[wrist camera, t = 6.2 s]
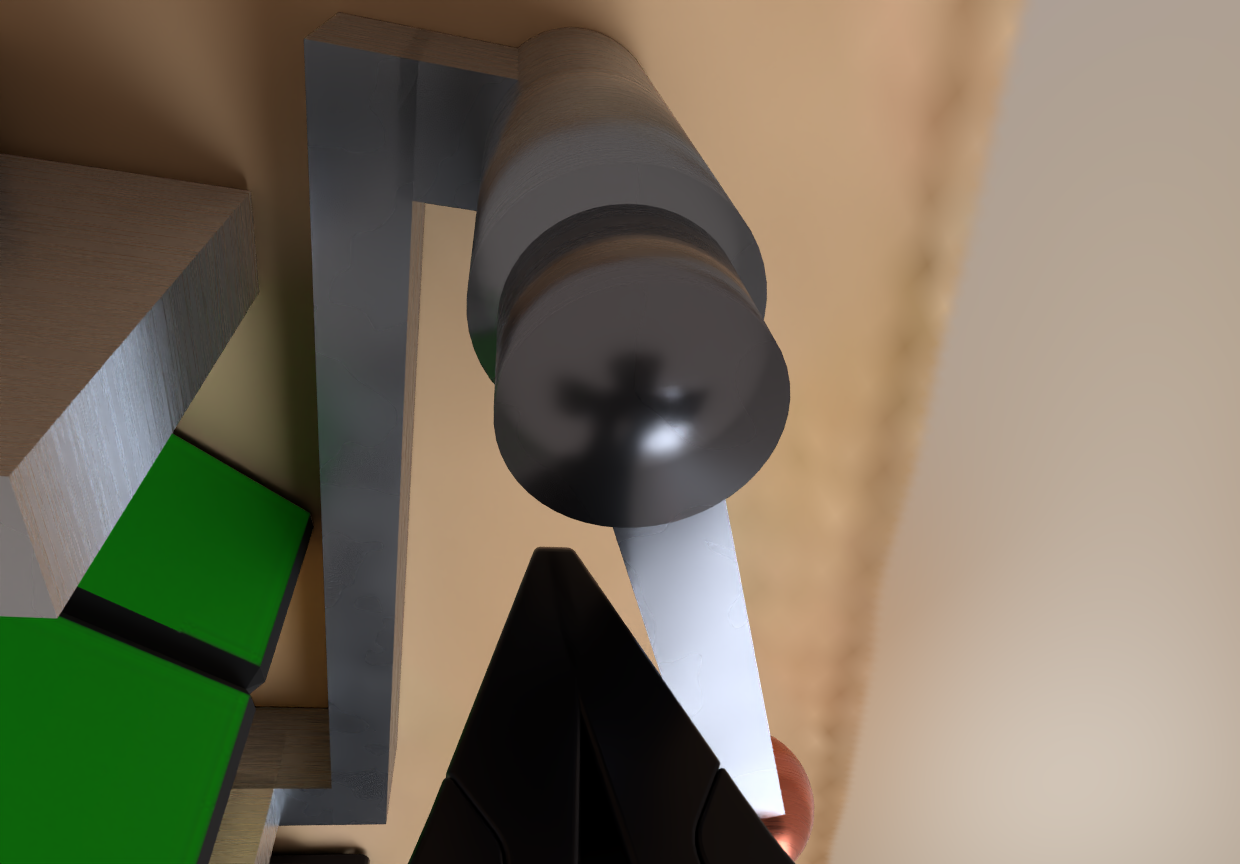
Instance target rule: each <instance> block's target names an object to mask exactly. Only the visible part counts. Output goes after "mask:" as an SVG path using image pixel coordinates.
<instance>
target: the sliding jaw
mask: <svg viewBox="0 0 1240 864" xmlns="http://www.w3.org/2000/svg"><path fill="white" fill-rule="evenodd" d="M258 294H259V283H258V271H257V259H256V247H255V235H254V222H253V210H252V198H251V191H248V190H241V189H235V188H228V187H221V186H215V185H208V184H201V183H195V182H188V181H181V180H175V179H168V178H161V177H155V176H148V175H141V174H135V173H128V172H121V171H115V170H108V169H101V168H95V167H88V166H81V165H75V164H68V163H61V162H55V161H48V160H42V159H35V158H28V157H22V156H15V155H8V154H2V153H0V616H8V617H34V618H58V616H59V615H60V613H61V612H62V610H63V608H64V607H65V605H66V604H67V602H68V600H69V599H70V597H71V595H72V594H73V592H74V591H75V589H76V587H77V586H78V584H79V583H80V581H81V579H82V578H83V576H84V574H85V573H86V571H87V570H88V568H89V566H90V565H91V563H92V562H93V560H94V558H95V557H96V555H97V553H98V552H99V550H100V549H101V547H102V545H103V544H104V542H105V541H106V539H107V537H108V536H109V534H110V532H111V531H112V529H113V528H114V526H115V524H116V523H117V521H118V520H119V518H120V516H121V515H122V513H123V512H124V510H125V508H126V507H127V505H128V503H129V502H130V500H131V499H132V497H133V495H134V494H135V492H136V491H137V489H138V487H139V486H140V484H141V482H142V481H143V479H144V478H145V476H146V474H147V473H148V471H149V470H150V468H151V466H152V465H153V463H154V461H155V460H156V458H157V457H158V455H159V453H160V452H161V450H162V449H163V447H164V445H165V444H166V442H167V440H168V439H169V437H170V436H171V434H172V432H173V431H174V429H175V428H176V426H177V424H178V423H179V421H180V420H181V418H182V416H183V415H184V413H185V411H186V410H187V408H188V407H189V405H190V403H191V402H192V400H193V399H194V397H195V395H196V394H197V392H198V390H199V389H200V387H201V386H202V384H203V382H204V381H205V379H206V378H207V376H208V374H209V373H210V371H211V369H212V368H213V366H214V365H215V363H216V361H217V360H218V358H219V357H220V355H221V353H222V352H223V350H224V348H225V347H226V345H227V344H228V342H229V340H230V339H231V337H232V336H233V334H234V332H235V331H236V329H237V328H238V326H239V324H240V323H241V321H242V319H243V318H244V316H245V315H246V313H247V311H248V310H249V308H250V307H251V305H252V303H253V302H254V300H255V298H256V297H257V295H258Z"/></svg>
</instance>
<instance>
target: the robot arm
mask: <svg viewBox="0 0 1240 864" xmlns="http://www.w3.org/2000/svg"><path fill="white" fill-rule="evenodd" d="M719 768H720V761H719V759H718V758H717V757H716V755H715V754H714V752H713V751H712V749H711V748H710V746H709V745H708V743H707V742H706V741H705V739H704V738H703V736H702V735H701V733H700V732H699V730H698V729H697V728H696V726H695V725H694V723H693V722H692V720H691V719H690V717H689V716H688V714H687V713H686V712H685V710H684V709H683V707H682V706H681V704H680V703H679V701H678V700H677V699H676V697H675V696H674V694H673V693H672V691H671V690H670V688H669V687H668V685H667V684H666V683H665V681H664V680H663V678H662V677H661V675H660V674H659V672H658V671H657V670H656V668H655V667H654V665H653V664H652V662H651V661H650V659H649V658H648V657H647V655H646V654H645V652H644V651H643V649H642V648H641V646H640V645H639V643H638V642H637V641H636V639H635V638H634V636H633V635H632V633H631V632H630V630H629V629H628V628H627V626H626V625H625V623H624V622H623V620H622V619H621V617H620V616H619V614H618V613H617V612H616V610H615V609H614V607H613V606H612V604H611V603H610V601H609V600H608V599H607V597H606V596H605V594H604V593H603V591H602V590H601V588H600V587H599V585H598V584H597V583H596V581H595V580H594V578H593V577H592V575H591V574H590V572H589V571H588V570H587V568H586V567H585V565H584V564H583V562H582V561H581V559H580V558H579V556H578V555H577V554H576V552H575V551H574V550H573V549H571V548H565V547H538V548H536V549H535V550H534V552H533V555H532V557H531V560H530V562H529V565H528V567H527V570H526V572H525V575H524V577H523V580H522V582H521V585H520V588H519V590H518V593H517V595H516V598H515V600H514V603H513V605H512V608H511V610H510V613H509V615H508V618H507V620H506V623H505V626H504V628H503V631H502V633H501V636H500V638H499V641H498V643H497V646H496V648H495V651H494V653H493V656H492V658H491V661H490V664H489V666H488V669H487V671H486V674H485V676H484V679H483V681H482V684H481V686H480V689H479V691H478V694H477V697H476V699H475V702H474V704H473V707H472V709H471V712H470V714H469V717H468V719H467V722H466V724H465V727H464V729H463V732H462V735H461V737H460V740H459V742H458V745H457V747H456V750H455V752H454V755H453V757H452V760H451V762H450V765H449V767H448V770H447V773H446V778H445V779H444V780H443V782H442V784H441V787H440V789H439V792H438V794H437V797H436V799H435V802H434V804H433V807H432V810H431V812H430V814H429V817H428V819H427V821H426V824H425V826H424V828H423V831H422V833H421V835H420V837H419V840H418V842H417V844H416V847H415V849H414V851H413V854H412V856H411V858H410V860H409V862H408V864H795V863H794V861H793V860H792V859H791V858H790V856H789V855H788V854H787V853H786V852H785V850H784V849H783V848H782V847H781V845H780V844H779V843H778V842H777V840H776V839H775V838H774V837H773V835H772V834H771V833H770V831H769V830H768V828H767V827H766V826H765V824H764V823H763V822H762V820H761V819H760V817H759V816H758V815H757V813H756V812H755V811H754V809H753V808H752V806H751V805H750V804H749V802H748V801H747V800H746V798H745V797H744V795H743V794H742V793H741V791H740V790H739V788H738V787H737V785H736V784H735V782H734V781H733V779H732V778H731V776H730V775H729V773H728V772H727V771H726V769H725V768H720V769H719ZM269 864H370V860H369V858H368V857H367V856H365V855H361V854H334V855H286V856H271V857H270V861H269Z"/></svg>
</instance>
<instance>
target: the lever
mask: <svg viewBox="0 0 1240 864" xmlns="http://www.w3.org/2000/svg"><path fill="white" fill-rule="evenodd" d="M789 403H790V381H789V376H788V371H787V366H786V363H785V360H784V358H783V355H782V352H781V350H780V348H779V347H778V345H777V343H776V341H775V340H774V338H773V336H772V334H771V332H770V331H769V329H768V327H767V325H766V324H765V322H764V320H763V318H762V316H761V315H760V313H759V311H758V309H757V308H756V306H755V304H754V302H753V300H752V299H751V297H750V295H749V293H748V292H747V290H746V288H745V286H744V284H743V283H742V281H741V279H740V277H739V276H738V274H737V272H736V270H735V268H734V267H733V265H732V263H731V261H730V260H729V258H728V256H727V254H726V253H725V251H724V250H723V249H722V248H721V246H720V245H719V244H718V242H717V241H716V240H715V239H714V238H713V237H712V236H711V235H709V234H708V233H707V232H706V231H705V230H704V229H702V228H701V227H700V226H698V225H697V224H695V223H694V222H692V221H691V220H689V219H687V218H685V217H683V216H681V215H679V214H677V213H674V212H671V211H668V210H665V209H662V208H658V207H653V206H648V205H639V204H616V205H606V206H601V207H596V208H592V209H589V210H586V211H583V212H580V213H577V214H574V215H572V216H570V217H568V218H566V219H564V220H562V221H560V222H558V223H556V224H555V225H553V226H552V227H550V228H549V229H547V230H546V231H544V232H543V233H542V234H541V235H540V236H539V237H537V238H536V239H535V240H534V241H533V242H532V243H531V244H530V245H529V246H528V247H527V248H526V249H525V251H524V252H523V253H522V254H521V255H520V257H519V258H518V260H517V261H516V263H515V264H514V266H513V267H512V269H511V271H510V273H509V275H508V277H507V279H506V281H505V284H504V287H503V290H502V293H501V296H500V301H499V308H498V319H497V344H496V369H495V393H494V429H495V435H496V441H497V444H498V447H499V450H500V453H501V455H502V457H503V459H504V461H505V463H506V465H507V467H508V469H509V470H510V472H511V473H512V475H513V476H514V477H515V479H516V480H517V481H518V483H519V484H520V485H521V486H522V487H523V488H524V489H525V490H526V491H527V492H528V493H529V494H531V495H532V496H533V497H534V498H536V499H537V500H538V501H540V502H541V503H542V504H544V505H546V506H547V507H549V508H551V509H552V510H554V511H556V512H558V513H561V514H563V515H565V516H567V517H570V518H572V519H576V520H579V521H582V522H585V523H590V524H595V525H600V526H607V527H613V529H614V532H615V536H616V539H617V542H618V545H619V548H620V551H621V554H622V557H623V560H624V563H625V566H626V569H627V572H628V575H629V578H630V581H631V585H632V588H633V591H634V594H635V597H636V600H637V603H638V606H639V609H640V612H641V615H642V618H643V621H644V624H645V627H646V631H647V634H648V637H649V640H650V643H651V646H652V649H653V652H654V655H655V658H656V661H657V664H658V667H659V670H660V673H661V676H662V678H663V680H664V681H665V683H666V684H667V685H668V687H669V688H670V690H671V691H672V693H673V694H674V696H675V697H676V699H677V700H678V701H679V703H680V704H681V706H682V707H683V709H684V710H685V712H686V713H687V714H688V716H689V717H690V719H691V720H692V722H693V723H694V725H695V726H696V728H697V729H698V730H699V732H700V733H701V735H702V736H703V738H704V739H705V741H706V742H707V743H708V745H709V746H710V748H711V749H712V751H713V752H714V754H715V755H716V757H717V758H718V759H719V761H720V768H725V769H726V771H727V772H728V773H729V775H730V776H731V778H732V779H733V781H734V782H735V784H736V785H737V787H738V788H739V790H740V791H741V793H742V794H743V795H744V797H745V798H746V800H747V801H748V802H749V804H750V805H751V806H752V808H753V809H754V811H755V812H756V813H757V815H758V816H759V817H760V819H761V820H762V822H763V823H764V824H765V826H766V827H767V828H768V830H769V831H770V833H771V834H772V835H773V837H774V838H775V839H776V840H777V842H778V843H779V844H780V845H781V847H782V848H783V849H784V850H785V852H786V853H787V854H788V855H789V856H790V858H791V859H792V860H793V861H794V862H795V861H796V860H797V858H798V857H799V856H800V854H801V853H802V851H803V850H804V848H805V846H806V844H807V842H808V840H809V837H810V834H811V830H812V827H813V820H814V800H813V793H812V789H811V786H810V782H809V779H808V777H807V774H806V772H805V770H804V769H803V767H802V765H801V763H800V762H799V760H798V759H797V758H796V756H795V755H794V754H793V753H792V752H791V751H790V750H789V749H788V748H787V747H786V746H785V745H784V744H783V743H781V742H780V741H779V740H777V739H776V738H774V737H772V736H770V732H769V726H768V721H767V716H766V711H765V705H764V700H763V695H762V690H761V684H760V679H759V674H758V669H757V663H756V658H755V653H754V648H753V642H752V637H751V632H750V626H749V621H748V616H747V611H746V605H745V600H744V595H743V590H742V584H741V579H740V574H739V569H738V563H737V558H736V553H735V548H734V542H733V537H732V532H731V526H730V521H729V516H728V511H727V505H726V500H725V499H726V498H728V497H729V496H731V495H733V494H734V493H735V492H736V491H738V490H739V489H740V488H741V487H743V486H744V485H745V484H746V483H747V482H748V481H749V480H750V479H751V478H752V477H753V476H754V475H755V474H756V473H757V472H758V471H759V470H760V469H761V467H762V466H763V465H764V464H765V462H766V461H767V460H768V459H769V457H770V455H771V454H772V452H773V450H774V449H775V447H776V445H777V444H778V441H779V439H780V437H781V434H782V432H783V430H784V427H785V423H786V420H787V416H788V411H789ZM720 768H719V769H720Z"/></svg>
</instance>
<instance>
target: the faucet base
mask: <svg viewBox="0 0 1240 864" xmlns="http://www.w3.org/2000/svg"><path fill="white" fill-rule="evenodd" d="M304 58H305V85H306V112H307V139H308V166H309V192H310V219H311V246H312V273H313V300H314V327H315V354H316V381H317V408H318V435H319V462H320V488H321V515H322V542H323V569H324V596H325V623H326V650H327V677H328V704H329V709H324V708H267V707H255V709H256V711H255V714H254V717H253V721H252V724H251V727H250V730H249V734H248V737H247V740H246V743H245V747H244V750H243V753H242V756H241V760H240V763H239V766H238V769H237V773H236V776H235V779H234V782H233V786H232V789H231V792H230V796H229V799H228V802H227V805H226V809H225V812H224V815H223V818H222V822H221V825H220V828H219V831H218V835H217V838H216V841H215V844H214V848H213V851H212V854H211V857H210V861H209V864H269V861H270V857H271V853H272V849H273V845H274V841H275V837H276V833H277V829H278V826H283V825H361V824H386V821H387V814H388V807H389V799H390V792H391V785H392V777H393V770H394V763H395V755H396V748H397V732H398V713H399V693H400V674H401V655H402V636H403V617H404V597H405V578H406V559H407V540H408V521H409V501H410V482H411V463H412V444H413V425H414V405H415V386H416V367H417V348H418V329H419V309H420V290H421V271H422V252H423V233H424V213H425V203H428V204H435V205H441V206H448V207H454V208H461V209H467V210H474V211H477V213H476V222H475V230H474V239H473V248H472V256H471V265H470V273H469V282H468V291H467V320H468V328H469V333H470V337H471V340H472V344H473V347H474V350H475V352H476V354H477V357H478V359H479V361H480V363H481V365H482V367H483V368H484V370H485V372H486V373H487V375H488V376H489V378H490V379H491V381H492V382H493V383H494V384H495V369H496V344H497V319H498V308H499V301H500V296H501V293H502V290H503V287H504V284H505V281H506V279H507V277H508V275H509V273H510V271H511V269H512V267H513V266H514V264H515V263H516V261H517V260H518V258H519V257H520V255H521V254H522V253H523V252H524V251H525V249H526V248H527V247H528V246H529V245H530V244H531V243H532V242H533V241H534V240H535V239H536V238H537V237H539V236H540V235H541V234H542V233H543V232H544V231H546V230H547V229H549V228H550V227H552V226H553V225H555V224H556V223H558V222H560V221H562V220H564V219H566V218H568V217H570V216H572V215H574V214H577V213H580V212H583V211H586V210H589V209H592V208H596V207H601V206H606V205H616V204H639V205H648V206H653V207H658V208H662V209H665V210H668V211H671V212H674V213H677V214H679V215H681V216H683V217H685V218H687V219H689V220H691V221H692V222H694V223H695V224H697V225H698V226H700V227H701V228H702V229H704V230H705V231H706V232H707V233H708V234H709V235H711V236H712V237H713V238H714V239H715V240H716V241H717V242H718V244H719V245H720V246H721V248H722V249H723V250H724V251H725V253H726V254H727V256H728V258H729V260H730V261H731V263H732V265H733V267H734V268H735V270H736V272H737V274H738V276H739V277H740V279H741V281H742V283H743V284H744V286H745V288H746V290H747V292H748V293H749V295H750V297H751V299H752V300H753V302H754V304H755V306H756V308H757V309H758V311H759V313H760V315H761V316H762V318H763V320H764V316H765V308H766V301H767V281H766V275H765V269H764V263H763V260H762V257H761V253H760V250H759V247H758V245H757V243H756V241H755V239H754V236H753V234H752V232H751V230H750V229H749V227H748V226H747V224H746V223H745V221H744V220H743V218H742V217H741V215H740V214H739V212H738V211H737V209H736V208H735V206H734V205H733V203H732V202H731V200H730V199H729V197H728V196H727V194H726V193H725V191H724V190H723V188H722V187H721V185H720V184H719V182H718V181H717V179H716V178H715V176H714V175H713V174H712V172H711V171H710V169H709V168H708V166H707V165H706V163H705V162H704V160H703V159H702V157H701V156H700V154H699V153H698V151H697V150H696V148H695V147H694V145H693V144H692V142H691V141H690V139H689V138H688V136H687V135H686V133H685V132H684V130H683V129H682V127H681V126H680V124H679V123H678V121H677V120H676V118H675V117H674V115H673V114H672V112H671V111H670V109H669V108H668V106H667V105H666V103H665V102H664V100H663V99H662V97H661V96H660V94H659V93H658V91H657V90H656V88H655V87H654V85H653V84H652V82H651V81H650V79H649V78H648V76H647V75H646V74H645V72H644V71H643V69H642V68H641V66H640V65H639V63H638V62H637V60H636V59H635V58H634V57H633V56H632V55H631V53H630V52H629V51H628V50H627V49H625V48H624V47H623V46H622V45H621V44H619V43H618V42H616V41H615V40H613V39H612V38H610V37H608V36H606V35H604V34H601V33H599V32H596V31H592V30H589V29H583V28H560V29H553V30H550V31H547V32H544V33H541V34H539V35H537V36H535V37H533V38H531V39H529V40H528V41H526V42H525V43H523V44H522V45H521V46H520V47H519V48H514V47H509V46H504V45H499V44H494V43H489V42H485V41H480V40H475V39H470V38H465V37H460V36H455V35H450V34H445V33H440V32H435V31H430V30H425V29H420V28H415V27H410V26H405V25H400V24H395V23H390V22H385V21H380V20H375V19H370V18H365V17H360V16H355V15H350V14H345V13H340V12H338V13H337V14H336V15H334V16H333V17H332V18H330V19H329V20H328V21H327V22H325V23H324V24H323V25H321V26H320V27H319V28H317V29H316V30H315V31H313V32H312V33H311V34H309V35H308V36H307V37H305V38H304Z"/></svg>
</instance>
